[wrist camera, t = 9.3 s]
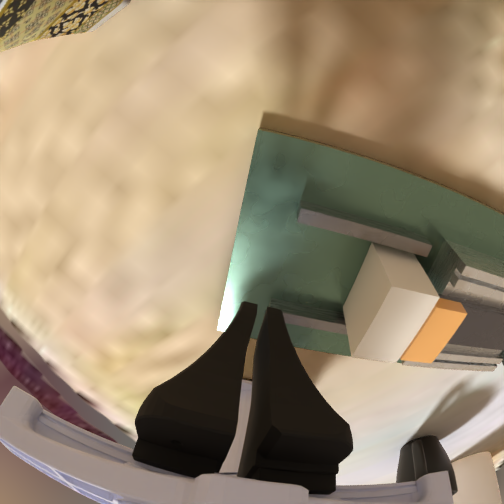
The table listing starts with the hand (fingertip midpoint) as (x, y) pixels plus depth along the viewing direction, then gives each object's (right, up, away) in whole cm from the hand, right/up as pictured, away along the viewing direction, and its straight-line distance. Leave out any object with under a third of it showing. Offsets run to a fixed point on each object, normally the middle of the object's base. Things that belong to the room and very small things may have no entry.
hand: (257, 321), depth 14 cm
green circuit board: (+12, +1, +6) cm, 13 cm away
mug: (+22, -22, +17) cm, 36 cm away
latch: (+9, +1, +5) cm, 10 cm away
